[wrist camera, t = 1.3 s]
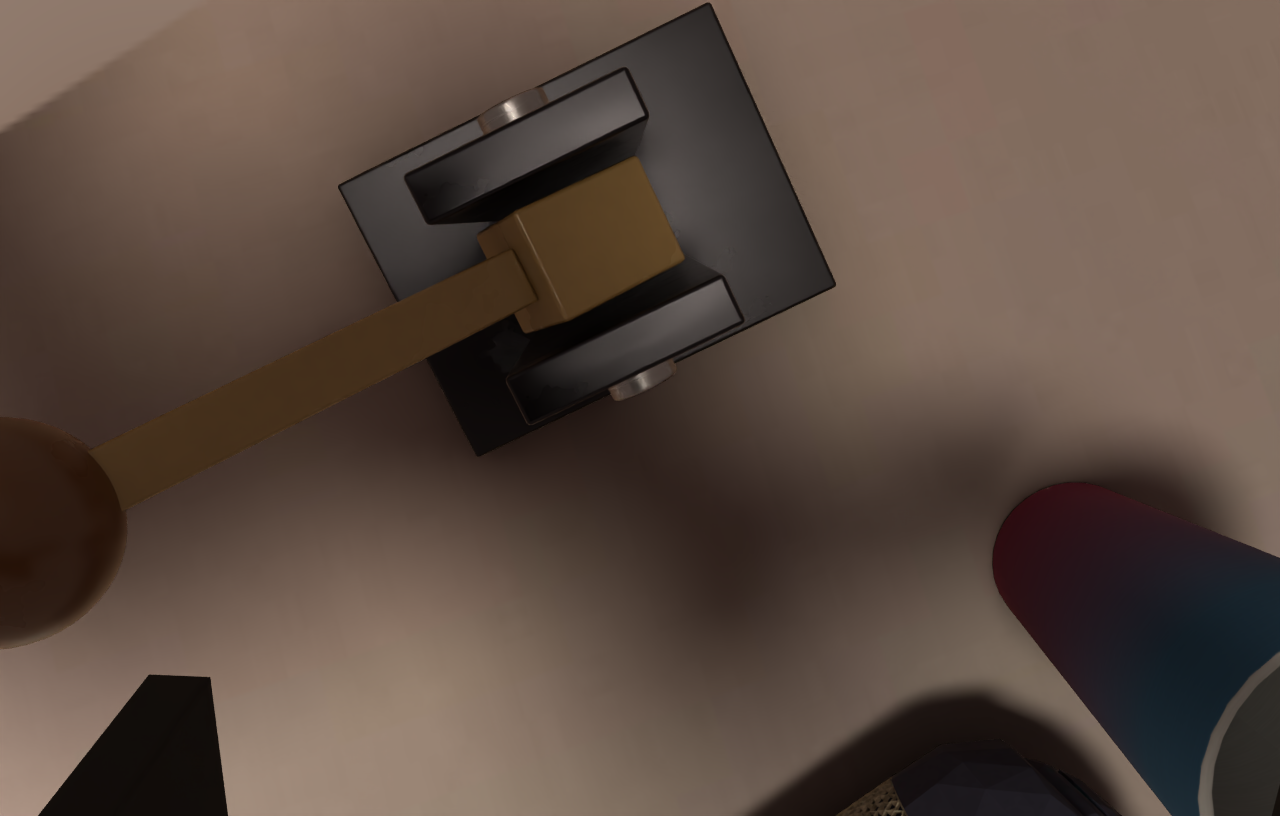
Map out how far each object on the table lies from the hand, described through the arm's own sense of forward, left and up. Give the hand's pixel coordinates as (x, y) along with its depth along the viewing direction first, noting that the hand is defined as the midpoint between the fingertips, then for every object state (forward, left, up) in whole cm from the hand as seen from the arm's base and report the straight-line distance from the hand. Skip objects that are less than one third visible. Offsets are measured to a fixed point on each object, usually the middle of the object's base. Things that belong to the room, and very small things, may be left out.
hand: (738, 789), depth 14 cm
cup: (+7, +12, -22) cm, 26 cm away
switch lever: (-6, -6, -8) cm, 12 cm away
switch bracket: (-7, 0, -22) cm, 23 cm away
